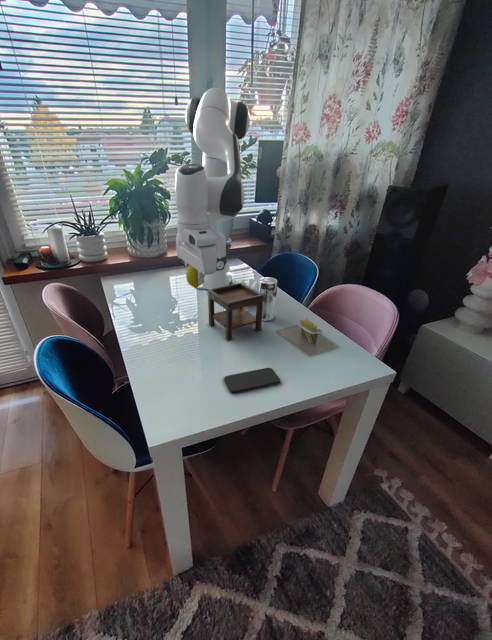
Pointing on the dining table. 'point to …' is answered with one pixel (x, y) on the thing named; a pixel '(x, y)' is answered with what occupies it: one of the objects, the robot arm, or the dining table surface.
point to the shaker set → (254, 286)
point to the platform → (307, 338)
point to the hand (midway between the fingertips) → (195, 279)
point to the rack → (235, 307)
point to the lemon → (192, 276)
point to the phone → (251, 380)
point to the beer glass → (268, 296)
